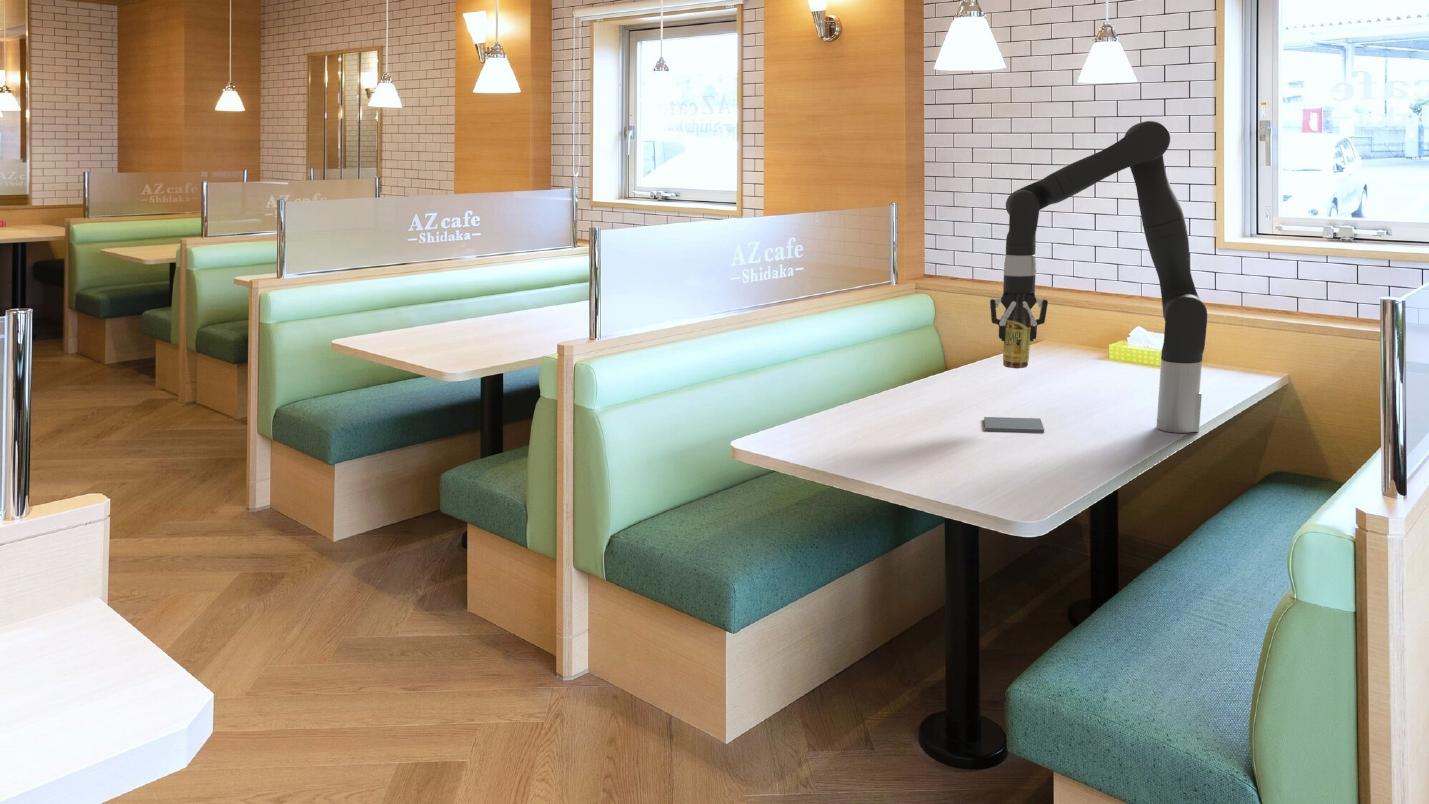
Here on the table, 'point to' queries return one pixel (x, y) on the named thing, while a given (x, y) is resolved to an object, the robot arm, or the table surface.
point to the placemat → (1013, 424)
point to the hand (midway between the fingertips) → (1017, 340)
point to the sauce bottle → (1017, 335)
